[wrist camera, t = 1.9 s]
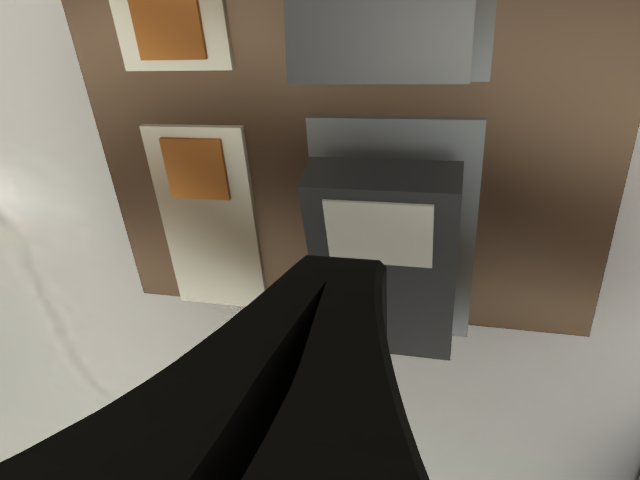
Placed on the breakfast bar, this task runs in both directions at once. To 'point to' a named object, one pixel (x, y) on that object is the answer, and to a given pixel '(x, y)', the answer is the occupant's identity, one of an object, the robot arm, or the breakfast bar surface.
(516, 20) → the switch panel
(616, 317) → the breakfast bar surface
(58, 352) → the breakfast bar surface
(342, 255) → the switch
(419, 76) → the switch mid
